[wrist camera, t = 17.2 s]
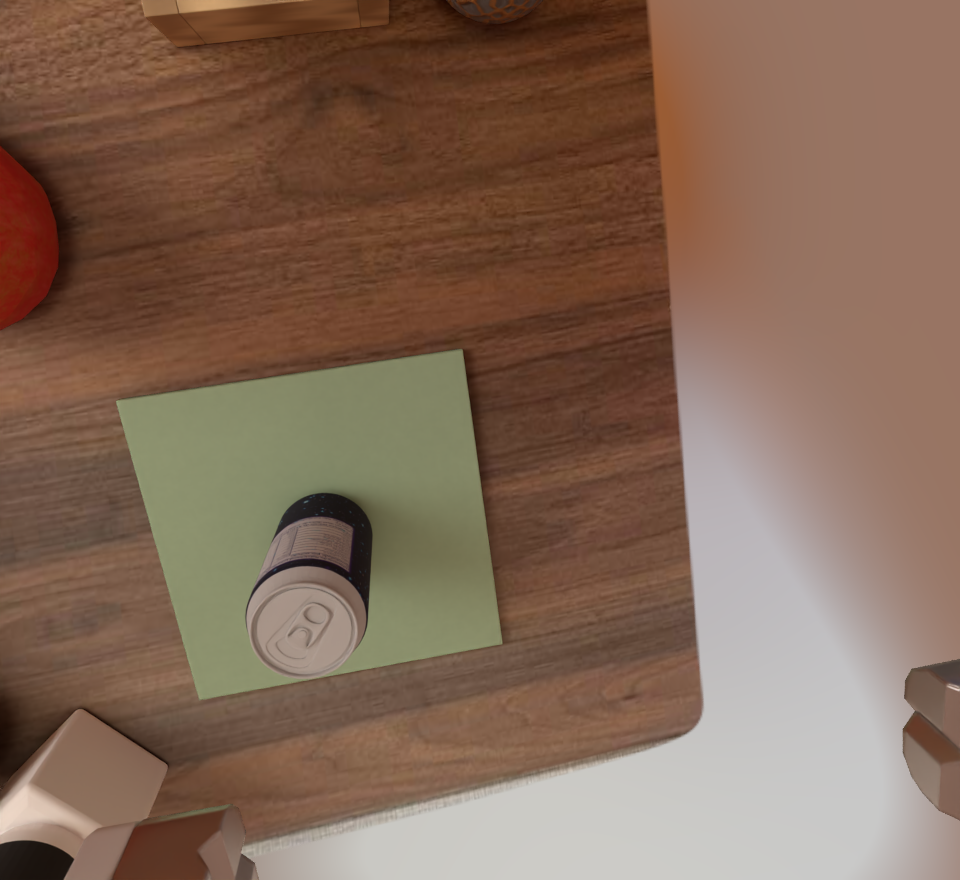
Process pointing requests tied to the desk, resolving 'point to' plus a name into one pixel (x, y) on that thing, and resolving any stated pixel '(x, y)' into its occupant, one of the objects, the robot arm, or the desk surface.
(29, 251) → the apple
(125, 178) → the desk surface
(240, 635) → the mat
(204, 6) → the holder
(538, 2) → the vase
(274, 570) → the beverage can
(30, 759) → the medicine bottle
